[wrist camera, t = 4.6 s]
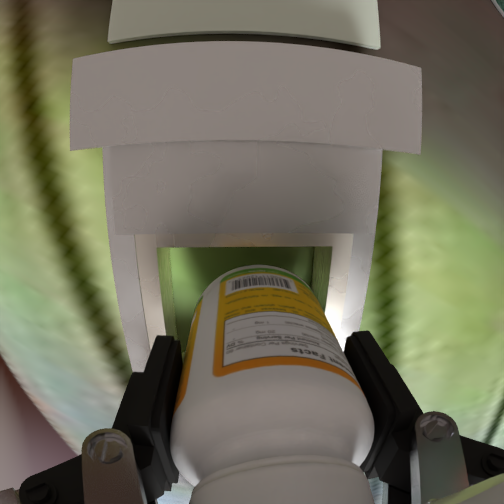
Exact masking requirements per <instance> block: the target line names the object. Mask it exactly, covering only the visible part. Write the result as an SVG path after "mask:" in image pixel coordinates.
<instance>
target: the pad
mask: <svg viewBox="0 0 504 504" xmlns="http://www.w3.org/2000/svg"><path fill="white" fill-rule="evenodd" d="M194 34H262V35H279V36H291V37H301V38H310V39H318V40H326V41H332V42H339V43H345V44H350V45H356V46H361V47H366V48H371V49H376V50H377V49H379V48H381V47H380V30H379V17H378V6H377V0H113V2H112V8H111V16H110V23H109V32H108V41H107V42H109V43H110V44H113V43H119V42H125V41H132V40H139V39H147V38H156V37H166V36H178V35H194Z"/></svg>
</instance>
